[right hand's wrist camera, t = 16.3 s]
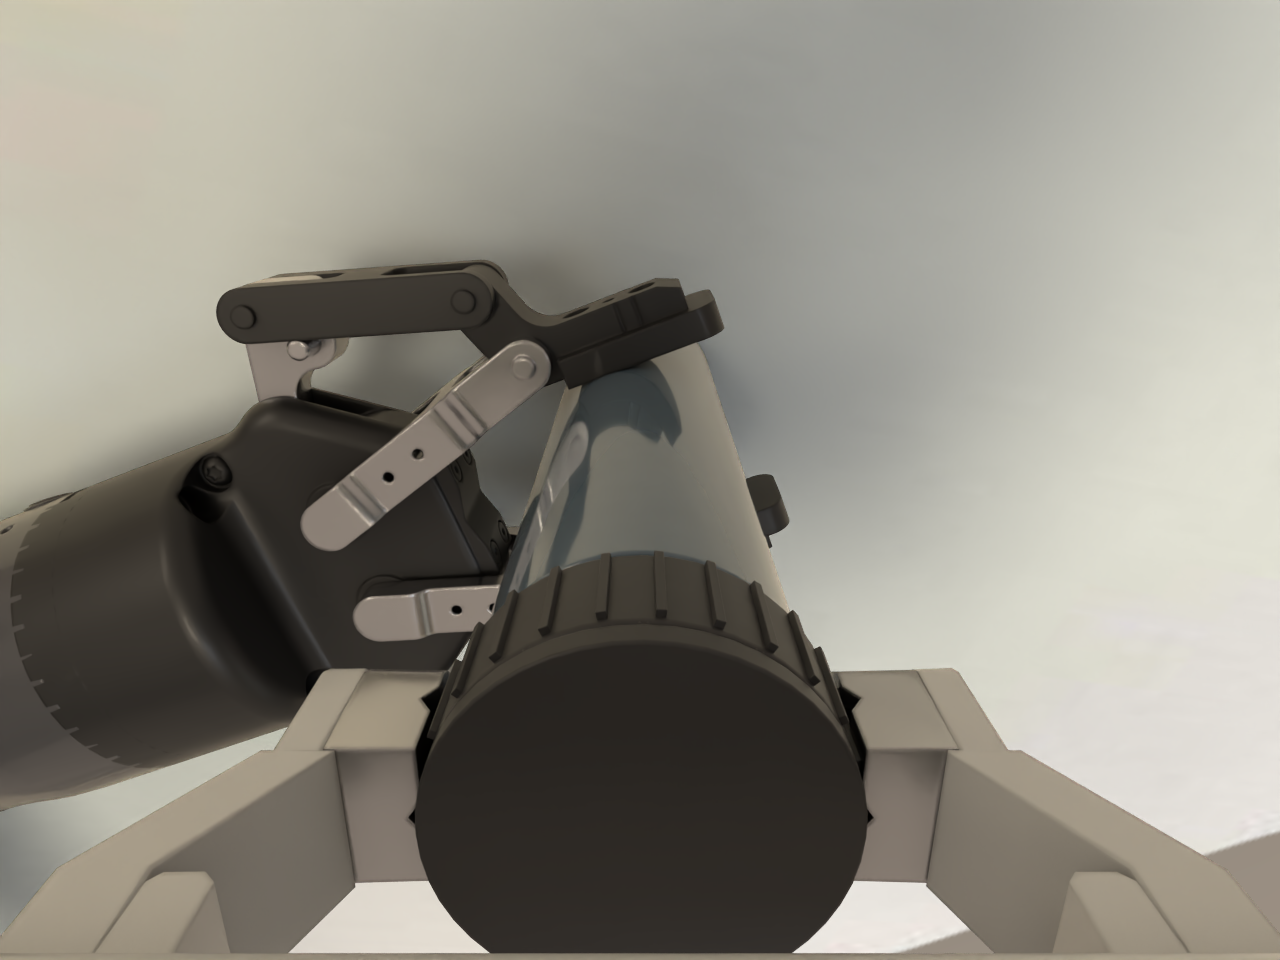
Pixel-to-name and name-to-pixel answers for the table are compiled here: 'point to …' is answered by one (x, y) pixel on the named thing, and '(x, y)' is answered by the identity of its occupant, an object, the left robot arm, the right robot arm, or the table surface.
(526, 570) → the blue-grey bottle
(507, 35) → the table surface
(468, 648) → the lid
